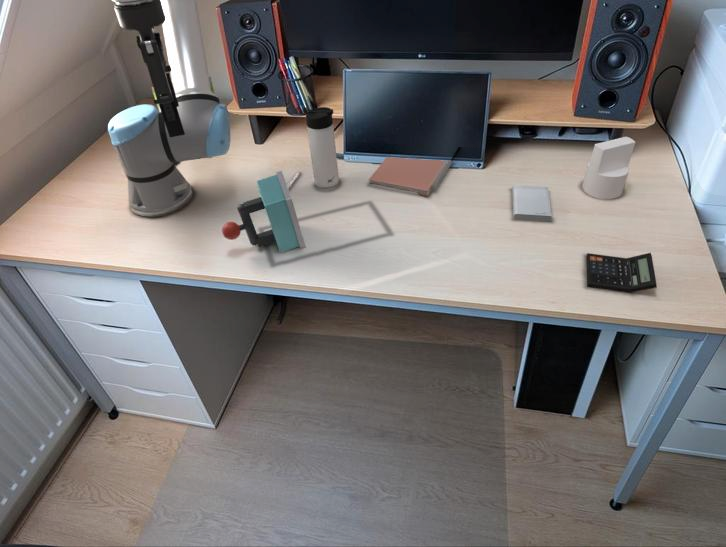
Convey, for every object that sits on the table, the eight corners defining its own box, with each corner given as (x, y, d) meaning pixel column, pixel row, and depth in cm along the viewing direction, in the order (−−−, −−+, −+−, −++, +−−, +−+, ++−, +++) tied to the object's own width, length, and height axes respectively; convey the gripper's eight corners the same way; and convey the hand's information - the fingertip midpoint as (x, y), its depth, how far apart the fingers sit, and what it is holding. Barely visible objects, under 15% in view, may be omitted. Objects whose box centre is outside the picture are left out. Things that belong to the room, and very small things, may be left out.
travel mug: (337, 192, 130) (329, 116, 117) (312, 190, 132) (301, 115, 118) (343, 179, 135) (335, 105, 122) (318, 177, 136) (309, 104, 123)
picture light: (279, 202, 128) (278, 195, 127) (263, 200, 129) (262, 193, 128) (300, 173, 138) (299, 166, 137) (285, 172, 139) (284, 165, 138)
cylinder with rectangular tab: (598, 202, 120) (611, 156, 112) (574, 183, 127) (585, 138, 119) (630, 194, 122) (646, 147, 114) (605, 175, 129) (618, 130, 121)
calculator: (586, 256, 106) (589, 244, 104) (648, 264, 104) (652, 252, 102) (587, 286, 100) (590, 275, 98) (653, 296, 97) (658, 284, 95)
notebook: (431, 197, 126) (432, 190, 125) (368, 185, 132) (368, 178, 130) (464, 146, 144) (464, 140, 143) (407, 137, 150) (407, 131, 148)
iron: (277, 160, 108) (203, 183, 106) (286, 181, 102) (208, 206, 99) (295, 224, 120) (229, 246, 117) (305, 247, 113) (236, 270, 111)
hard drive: (552, 216, 115) (548, 185, 124) (514, 213, 116) (512, 184, 125) (550, 222, 116) (547, 191, 125) (513, 219, 117) (512, 189, 126)
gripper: (163, 14, 78) (201, 144, 92) (155, -20, 95) (188, 93, 109) (111, 22, 76) (157, 153, 90) (113, -14, 94) (151, 100, 108)
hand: (174, 120), depth 100 cm, fingers open, 13 cm apart
